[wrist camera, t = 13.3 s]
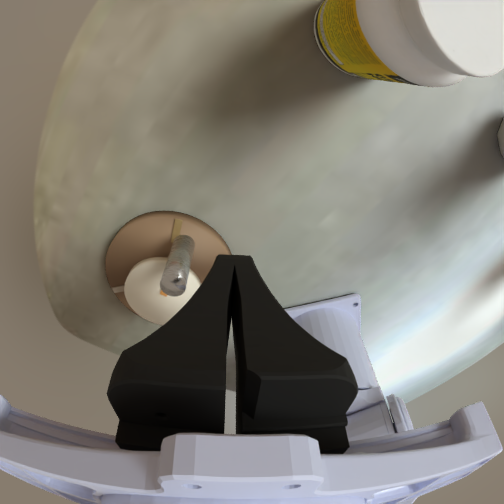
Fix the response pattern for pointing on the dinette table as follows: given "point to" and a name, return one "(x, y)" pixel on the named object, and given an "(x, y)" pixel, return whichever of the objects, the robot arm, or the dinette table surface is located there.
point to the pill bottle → (412, 39)
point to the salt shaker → (501, 137)
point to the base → (160, 245)
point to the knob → (163, 283)
